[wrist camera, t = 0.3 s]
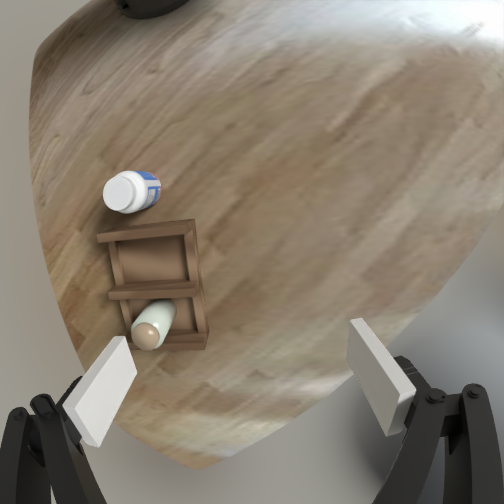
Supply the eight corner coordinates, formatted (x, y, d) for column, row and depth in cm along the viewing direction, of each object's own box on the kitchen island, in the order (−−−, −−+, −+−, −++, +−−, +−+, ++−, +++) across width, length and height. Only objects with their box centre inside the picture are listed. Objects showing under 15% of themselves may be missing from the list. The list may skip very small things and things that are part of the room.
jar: (146, 296, 41) (124, 322, 32) (174, 294, 41) (156, 322, 32) (152, 322, 42) (132, 353, 33) (179, 322, 42) (164, 354, 33)
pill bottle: (124, 181, 38) (91, 182, 29) (154, 165, 38) (127, 160, 28) (136, 214, 39) (107, 223, 30) (167, 199, 39) (144, 204, 29)
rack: (113, 227, 40) (96, 234, 34) (194, 218, 40) (186, 224, 34) (134, 332, 44) (123, 349, 38) (209, 331, 44) (204, 350, 38)
